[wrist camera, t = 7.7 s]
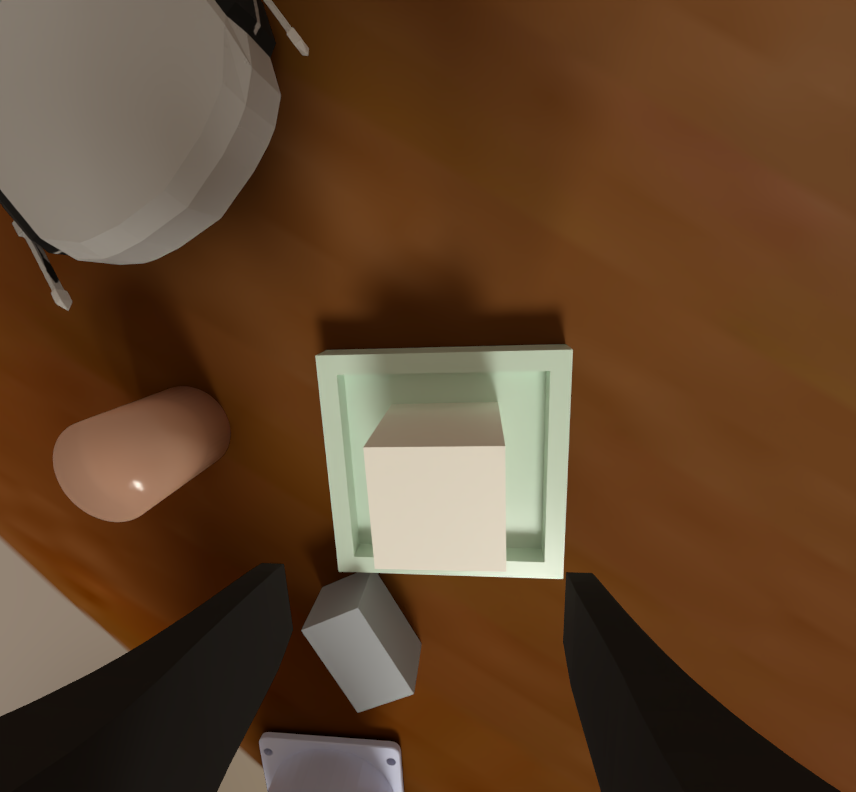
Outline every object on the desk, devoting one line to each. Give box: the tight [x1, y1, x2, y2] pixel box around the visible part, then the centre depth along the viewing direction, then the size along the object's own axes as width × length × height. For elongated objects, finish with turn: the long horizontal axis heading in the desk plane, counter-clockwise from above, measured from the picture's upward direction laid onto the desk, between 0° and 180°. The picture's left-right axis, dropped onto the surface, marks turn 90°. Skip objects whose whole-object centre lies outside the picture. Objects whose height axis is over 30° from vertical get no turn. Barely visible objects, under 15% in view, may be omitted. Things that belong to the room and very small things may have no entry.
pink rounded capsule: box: [53, 386, 231, 522], centre depth 19 cm, size 4×4×5 cm
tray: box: [315, 344, 573, 579], centre depth 19 cm, size 10×10×1 cm
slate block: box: [301, 572, 421, 713], centre depth 21 cm, size 5×3×3 cm, turn 29°
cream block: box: [363, 402, 506, 572], centre depth 17 cm, size 4×4×5 cm
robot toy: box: [0, 0, 309, 311], centre depth 15 cm, size 12×4×15 cm
